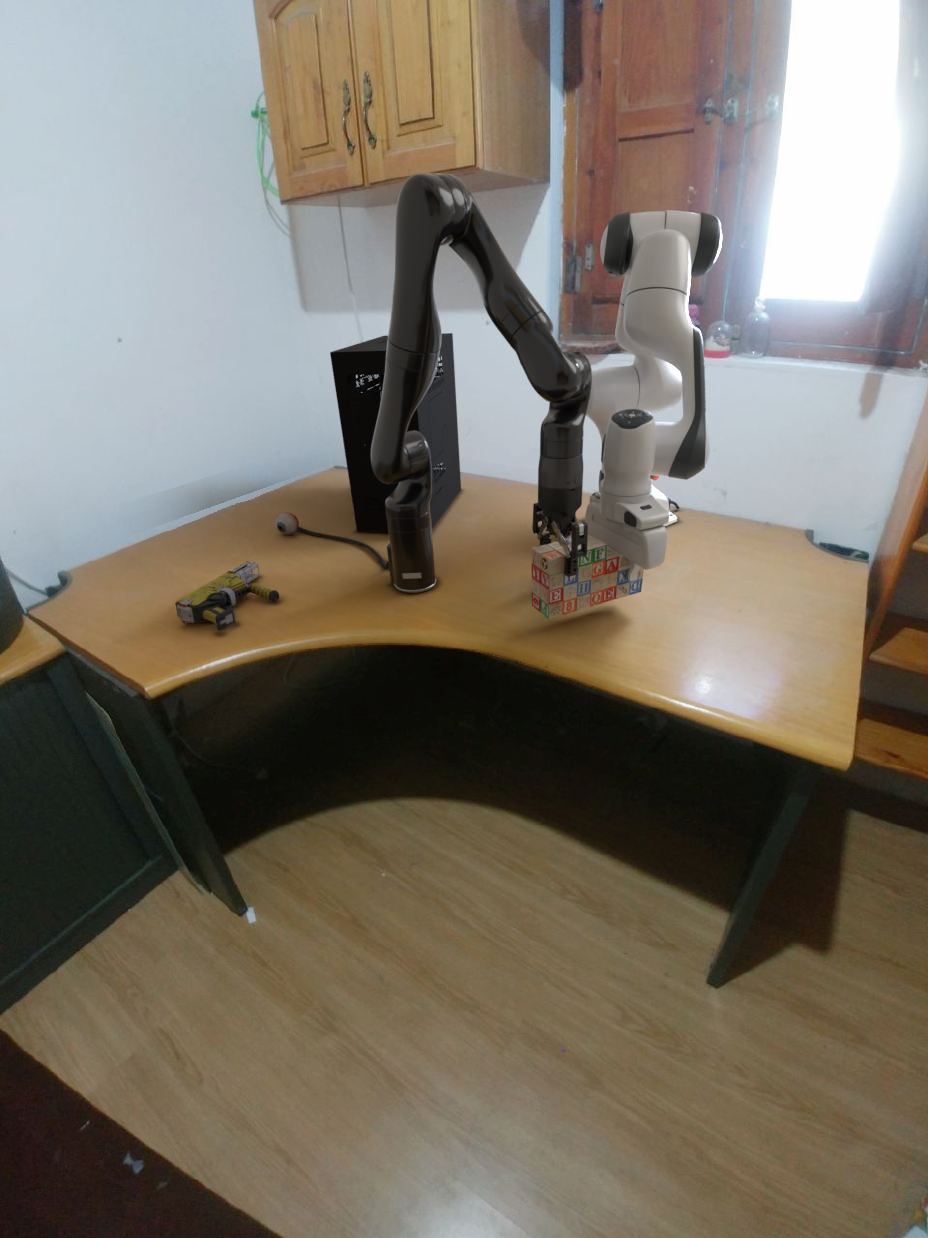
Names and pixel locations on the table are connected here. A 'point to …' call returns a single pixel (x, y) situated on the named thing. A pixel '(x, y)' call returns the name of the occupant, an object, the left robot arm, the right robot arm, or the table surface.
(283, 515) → the eyeball
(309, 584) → the table surface
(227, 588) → the toy gun
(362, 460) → the cardboard box
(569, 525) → the left robot arm
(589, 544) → the stack of blocks
